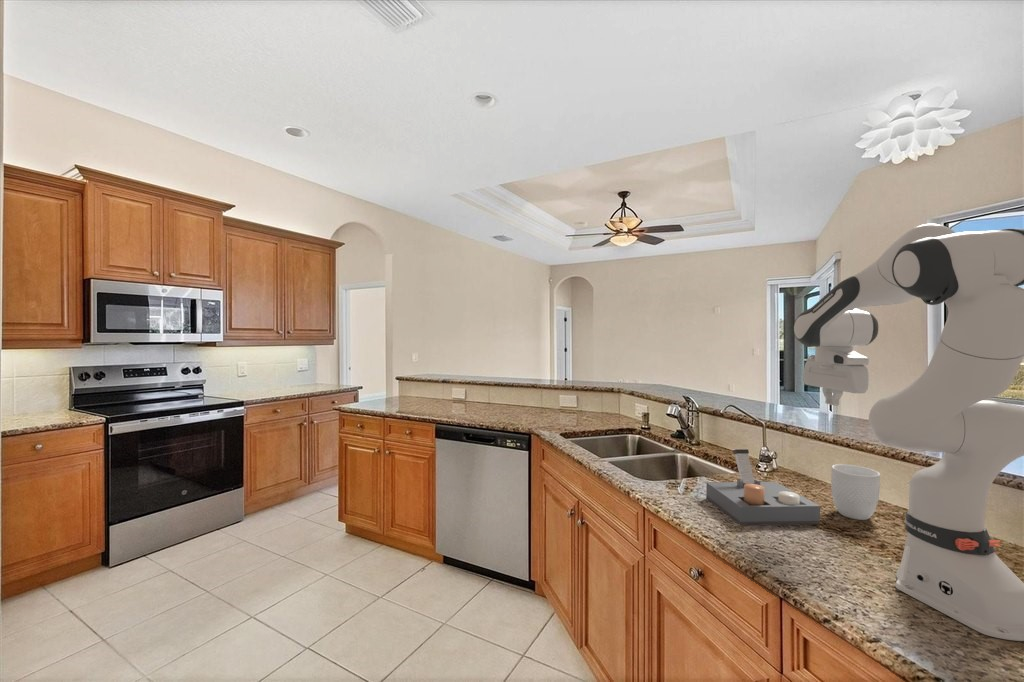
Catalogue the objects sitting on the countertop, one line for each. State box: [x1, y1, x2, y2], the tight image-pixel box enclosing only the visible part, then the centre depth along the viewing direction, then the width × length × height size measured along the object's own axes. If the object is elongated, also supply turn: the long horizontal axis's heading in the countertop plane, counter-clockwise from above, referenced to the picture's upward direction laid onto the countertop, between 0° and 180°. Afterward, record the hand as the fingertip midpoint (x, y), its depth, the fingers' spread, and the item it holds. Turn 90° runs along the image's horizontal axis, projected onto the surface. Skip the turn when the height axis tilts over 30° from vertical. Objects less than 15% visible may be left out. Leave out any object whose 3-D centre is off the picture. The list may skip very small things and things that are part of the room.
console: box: [705, 478, 821, 526], centre depth 130 cm, size 19×22×7 cm
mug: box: [830, 463, 881, 521], centre depth 128 cm, size 15×11×13 cm
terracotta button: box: [744, 484, 765, 505], centre depth 124 cm, size 5×5×5 cm
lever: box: [733, 448, 755, 486], centre depth 137 cm, size 2×4×11 cm, turn 93°
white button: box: [778, 491, 800, 505], centre depth 124 cm, size 5×5×5 cm
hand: (832, 404), depth 128 cm, fingers closed
